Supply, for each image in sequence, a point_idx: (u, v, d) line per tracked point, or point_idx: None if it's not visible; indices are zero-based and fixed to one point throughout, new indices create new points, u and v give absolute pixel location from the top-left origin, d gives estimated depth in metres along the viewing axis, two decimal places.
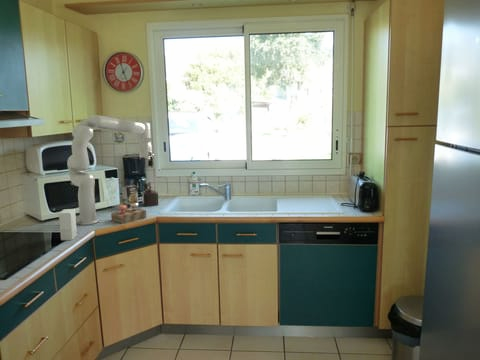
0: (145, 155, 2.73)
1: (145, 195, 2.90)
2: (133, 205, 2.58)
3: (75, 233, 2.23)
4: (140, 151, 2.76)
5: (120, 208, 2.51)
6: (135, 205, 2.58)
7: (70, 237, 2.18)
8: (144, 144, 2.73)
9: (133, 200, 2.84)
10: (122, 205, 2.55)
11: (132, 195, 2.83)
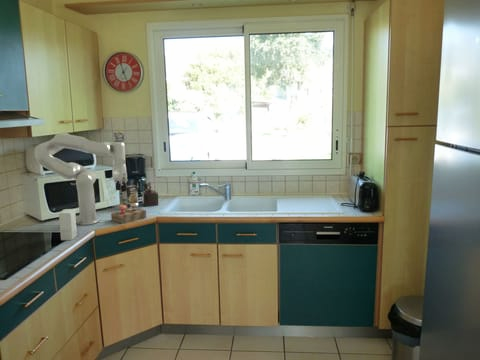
0: (119, 178, 2.46)
1: (145, 195, 2.90)
2: (133, 205, 2.58)
3: (75, 233, 2.23)
4: (114, 174, 2.49)
5: (120, 208, 2.51)
6: (135, 205, 2.58)
7: (70, 237, 2.18)
8: (117, 166, 2.45)
9: (133, 200, 2.84)
10: (122, 205, 2.55)
11: (132, 195, 2.83)
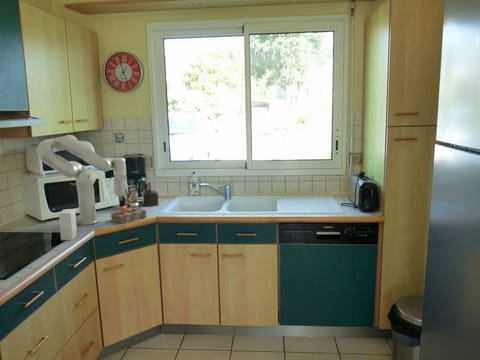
0: (120, 194, 2.48)
1: (145, 195, 2.90)
2: (133, 205, 2.58)
3: (75, 233, 2.23)
4: (115, 189, 2.51)
5: (120, 208, 2.51)
6: (135, 205, 2.58)
7: (70, 237, 2.18)
8: (118, 181, 2.47)
9: (133, 200, 2.84)
10: None
11: (132, 195, 2.83)
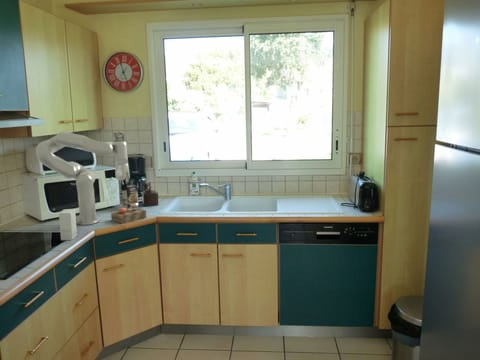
0: (121, 178, 2.47)
1: (145, 195, 2.90)
2: (133, 205, 2.58)
3: (75, 233, 2.23)
4: (116, 173, 2.50)
5: (120, 210, 2.51)
6: (135, 205, 2.58)
7: (70, 237, 2.18)
8: (120, 165, 2.46)
9: (133, 200, 2.84)
10: None
11: (132, 195, 2.83)
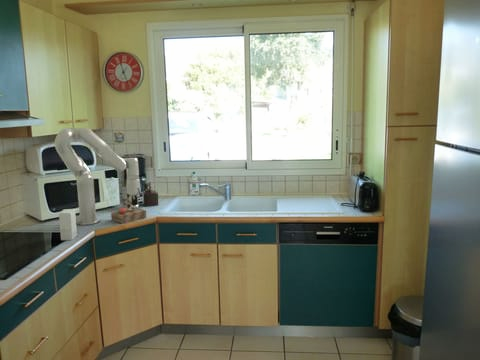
0: (133, 193, 2.54)
1: (145, 195, 2.90)
2: (133, 207, 2.58)
3: (75, 233, 2.23)
4: (128, 188, 2.58)
5: (120, 210, 2.51)
6: (135, 207, 2.58)
7: (70, 237, 2.18)
8: (131, 181, 2.54)
9: None
10: None
11: None
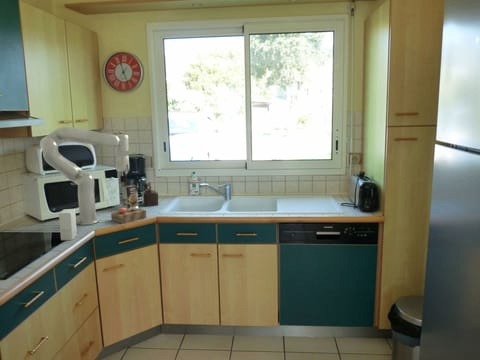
0: (121, 169, 2.55)
1: (145, 195, 2.90)
2: (133, 208, 2.58)
3: (75, 233, 2.23)
4: (117, 165, 2.59)
5: (120, 210, 2.51)
6: (135, 208, 2.58)
7: (70, 237, 2.18)
8: (120, 157, 2.55)
9: (133, 200, 2.84)
10: None
11: (132, 195, 2.83)
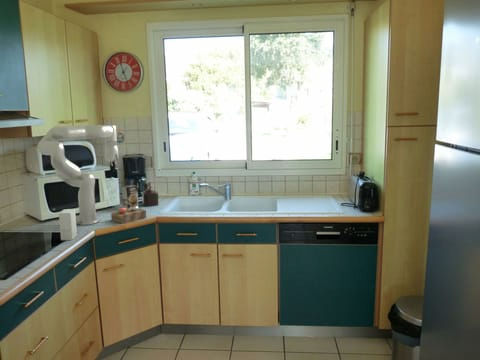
0: (111, 159, 2.60)
1: (145, 195, 2.90)
2: (133, 208, 2.58)
3: (75, 233, 2.23)
4: (106, 155, 2.63)
5: (120, 210, 2.51)
6: (135, 208, 2.58)
7: (70, 237, 2.18)
8: (109, 147, 2.60)
9: (133, 200, 2.84)
10: None
11: (132, 195, 2.83)
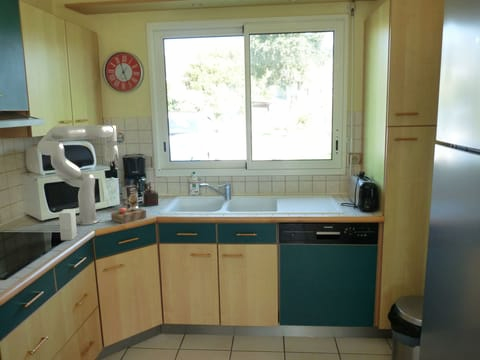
0: (111, 159, 2.60)
1: (145, 195, 2.90)
2: (133, 208, 2.58)
3: (75, 233, 2.23)
4: (106, 155, 2.63)
5: (120, 210, 2.51)
6: (135, 208, 2.58)
7: (70, 237, 2.18)
8: (109, 147, 2.60)
9: (133, 200, 2.84)
10: None
11: (132, 195, 2.83)
